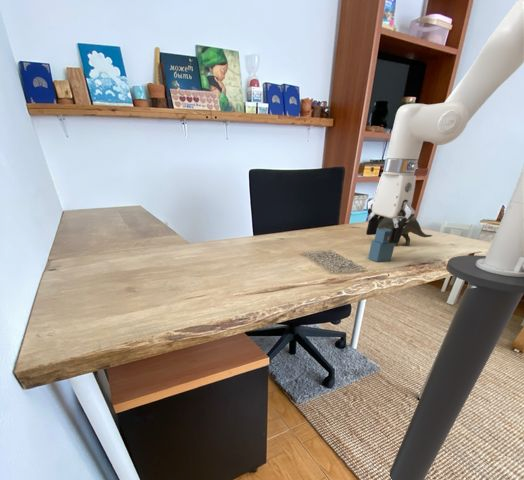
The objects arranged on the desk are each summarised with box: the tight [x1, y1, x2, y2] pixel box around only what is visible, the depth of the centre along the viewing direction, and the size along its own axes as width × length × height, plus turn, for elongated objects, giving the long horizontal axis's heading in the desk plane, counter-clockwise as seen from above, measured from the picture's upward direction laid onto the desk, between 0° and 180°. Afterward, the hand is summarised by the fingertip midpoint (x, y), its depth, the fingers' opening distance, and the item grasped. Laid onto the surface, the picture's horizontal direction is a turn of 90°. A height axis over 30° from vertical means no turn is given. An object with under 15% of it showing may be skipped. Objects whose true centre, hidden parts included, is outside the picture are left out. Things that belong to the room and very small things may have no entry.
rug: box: [302, 249, 368, 273], centre depth 83 cm, size 10×20×1 cm, turn 18°
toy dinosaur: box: [377, 216, 433, 247], centre depth 99 cm, size 22×8×11 cm, turn 51°
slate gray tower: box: [367, 228, 395, 263], centre depth 84 cm, size 4×5×8 cm
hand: (381, 238), depth 83 cm, fingers open, 9 cm apart
